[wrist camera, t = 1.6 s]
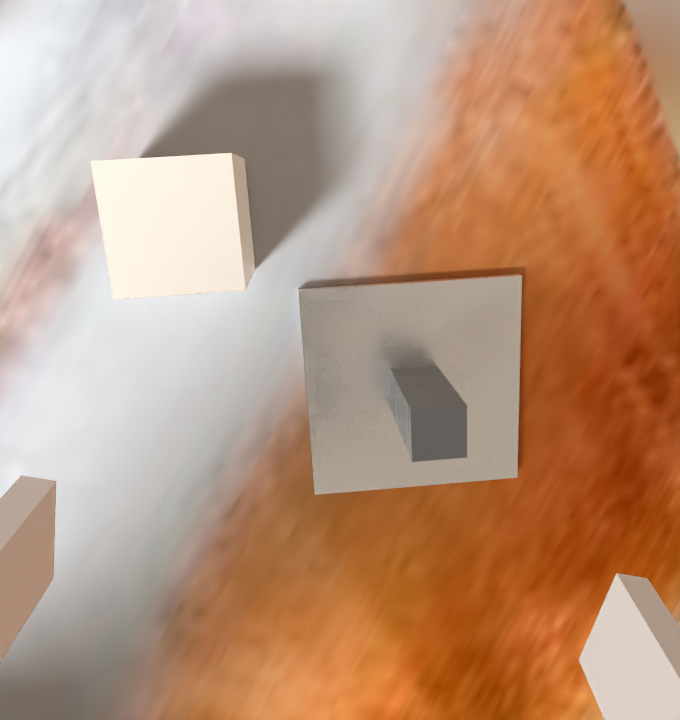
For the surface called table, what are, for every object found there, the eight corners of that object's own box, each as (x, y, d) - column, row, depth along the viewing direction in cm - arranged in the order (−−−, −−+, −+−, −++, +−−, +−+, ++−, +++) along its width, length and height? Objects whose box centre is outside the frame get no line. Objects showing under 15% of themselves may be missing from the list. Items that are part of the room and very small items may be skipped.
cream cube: (148, 276, 33) (113, 299, 26) (132, 165, 31) (90, 161, 25) (255, 269, 33) (245, 290, 27) (244, 158, 31) (231, 152, 25)
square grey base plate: (314, 490, 37) (318, 558, 30) (298, 288, 33) (298, 315, 27) (513, 473, 37) (561, 536, 31) (518, 273, 34) (572, 296, 27)
